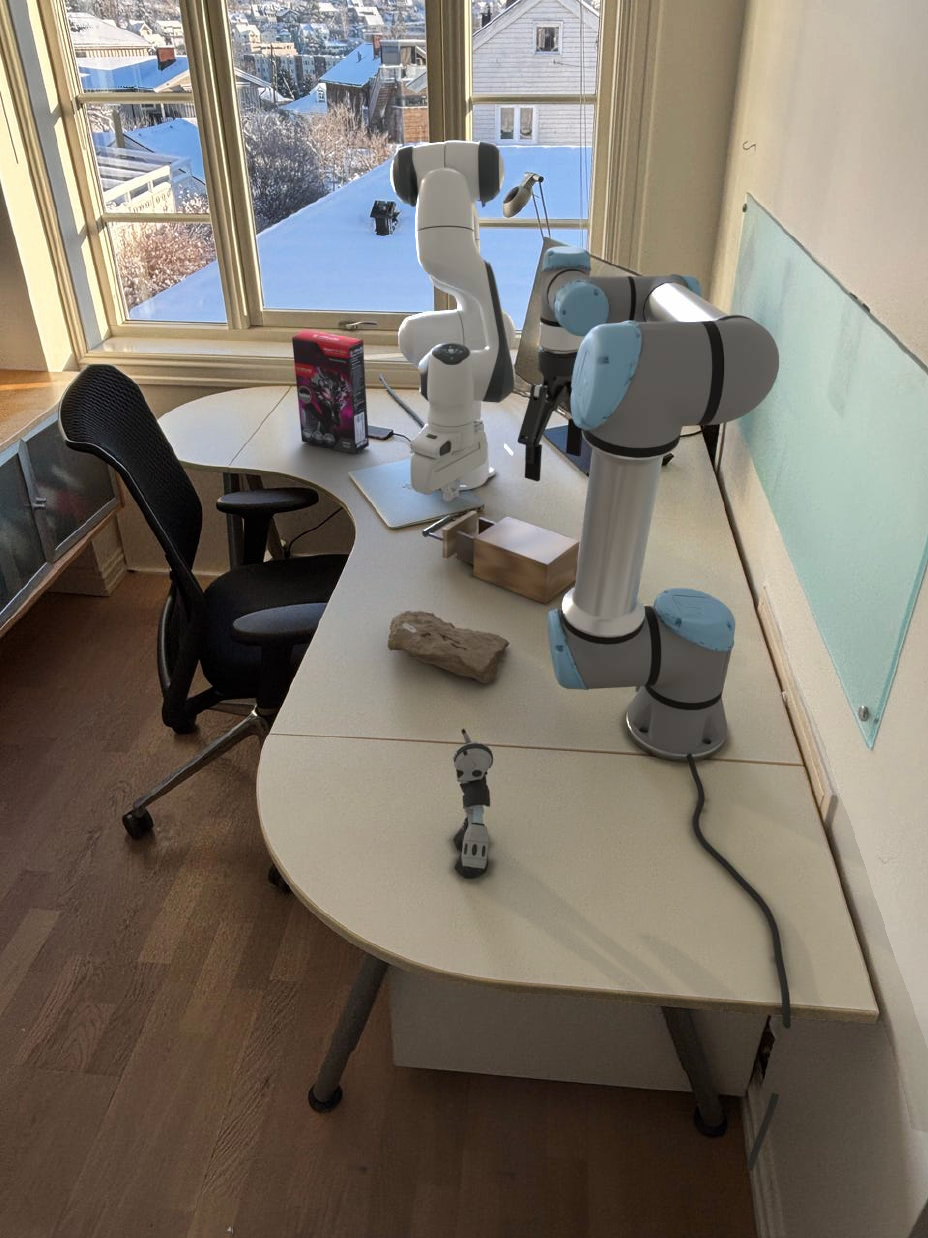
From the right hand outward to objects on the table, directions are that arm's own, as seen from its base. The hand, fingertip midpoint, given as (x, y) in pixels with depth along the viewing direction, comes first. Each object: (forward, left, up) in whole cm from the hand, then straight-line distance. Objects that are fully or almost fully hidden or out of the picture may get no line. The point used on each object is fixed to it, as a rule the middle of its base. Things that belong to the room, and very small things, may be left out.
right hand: (553, 466), depth 164 cm
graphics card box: (+52, +64, -25) cm, 87 cm away
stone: (-28, +12, -25) cm, 40 cm away
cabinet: (+2, +5, -25) cm, 26 cm away
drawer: (+6, +15, -24) cm, 29 cm away
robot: (-69, -4, -25) cm, 74 cm away
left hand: (+9, +22, -13) cm, 27 cm away
